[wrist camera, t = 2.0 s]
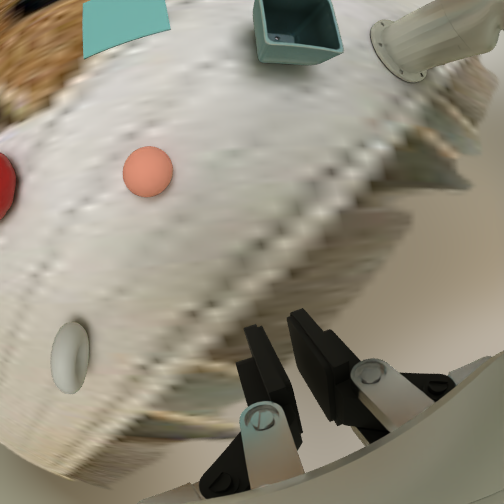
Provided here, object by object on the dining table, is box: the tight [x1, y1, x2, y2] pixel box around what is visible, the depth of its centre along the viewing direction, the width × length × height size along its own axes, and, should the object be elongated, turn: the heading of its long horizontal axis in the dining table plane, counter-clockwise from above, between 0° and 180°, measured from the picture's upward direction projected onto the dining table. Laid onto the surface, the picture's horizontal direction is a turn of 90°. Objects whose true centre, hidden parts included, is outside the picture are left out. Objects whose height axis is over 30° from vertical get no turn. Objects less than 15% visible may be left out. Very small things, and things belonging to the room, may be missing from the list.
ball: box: [123, 146, 173, 197], centre depth 27 cm, size 6×6×6 cm
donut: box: [51, 322, 89, 394], centre depth 27 cm, size 10×4×10 cm, turn 166°
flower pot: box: [253, 0, 344, 65], centre depth 24 cm, size 9×9×9 cm
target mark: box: [83, 0, 171, 59], centre depth 22 cm, size 12×12×1 cm
